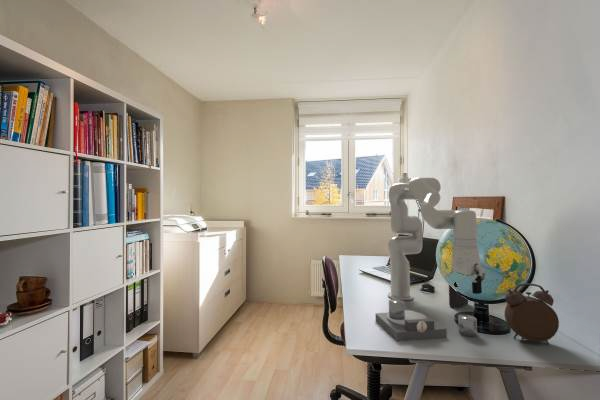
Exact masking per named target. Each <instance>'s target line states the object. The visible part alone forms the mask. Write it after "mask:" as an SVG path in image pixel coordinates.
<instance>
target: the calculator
mask: <svg viewBox="0 0 600 400" xmlns="http://www.w3.org/2000/svg"><path fill="white" fill-rule="evenodd" d="M468 304H469V299H468V300H467V299H465V298H464V297H462V296H461V295H459V294H458V293H457V292H456V291H455V290H454V289H453V288H452V287H451V286H450V285H449V284H448V306H449V307H450V308H452V309H458V308H461V307H463V306H468Z"/></svg>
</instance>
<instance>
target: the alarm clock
mask: <svg viewBox="0 0 600 400" xmlns="http://www.w3.org/2000/svg"><path fill="white" fill-rule="evenodd" d="M524 286H532V287H533V286H534V287H538V288H539V289H540V290H537V291H535V292H533V294H532V292H530V291H528V292H527V291H526V292H525V294H526V295H524V294H523V293H522V292H520V291H518V290H519V288H520V287H524ZM530 295H531V296H530ZM504 298H505V302H506V303H507V304H506V307H505V308H504V319H505V321H506V324H507V325H508V327H509V328H510V329H511V330H512V331H513V332H514V336H513V337H512V338H513V339H517V336H519V337H521V339H520V343H523V341H524V340H525V341H526V340H527V341H529V342H533V343H543V342H545V343H546V344H547V345H550V342H549V340H551V339H552V338H553V337H554V336H555V335H556V334H557V332H558V330H559V327H560V323H559V322H560V321H559V317H558V315H557V313H556V311H555V310H554V309H553V308H552V307H553V305H554V298H553V297H552V294H550V293H549V290H548V289H546V290H545V289H544V288H543V286H542V285H539V284H536V283H526V282H525V283H519V284H517V285H516V286H515V287H514V289H513V290H511V289H508V291H507V293H506V294H505V296H504Z"/></svg>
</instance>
